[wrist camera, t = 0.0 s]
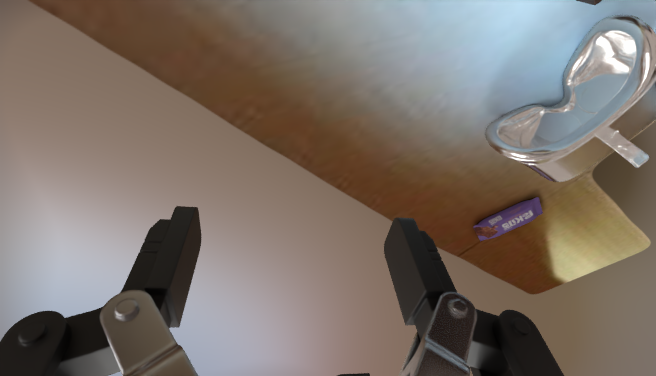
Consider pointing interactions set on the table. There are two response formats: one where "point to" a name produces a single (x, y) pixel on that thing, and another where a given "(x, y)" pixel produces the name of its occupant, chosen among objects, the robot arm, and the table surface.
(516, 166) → the table surface
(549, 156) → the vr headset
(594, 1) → the divided box
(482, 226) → the snack package
